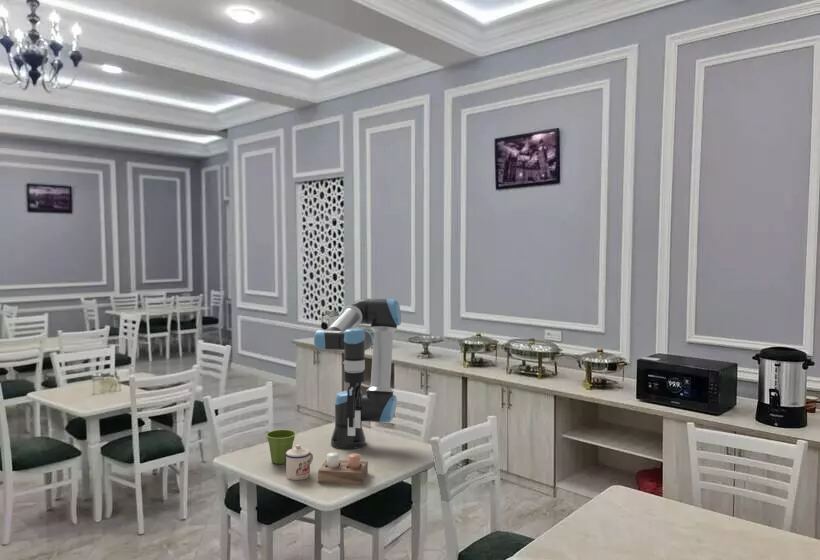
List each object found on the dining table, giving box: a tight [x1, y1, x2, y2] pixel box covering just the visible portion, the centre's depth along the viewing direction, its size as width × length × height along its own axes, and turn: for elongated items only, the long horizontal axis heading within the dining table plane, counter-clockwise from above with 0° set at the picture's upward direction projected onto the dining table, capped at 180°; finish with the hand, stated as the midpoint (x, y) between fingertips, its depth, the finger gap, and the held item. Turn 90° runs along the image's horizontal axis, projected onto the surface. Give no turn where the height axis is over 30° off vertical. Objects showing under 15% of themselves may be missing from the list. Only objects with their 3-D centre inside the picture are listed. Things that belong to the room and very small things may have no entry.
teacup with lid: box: [285, 444, 314, 481], centre depth 216 cm, size 12×9×12 cm
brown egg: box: [347, 453, 361, 469], centre depth 212 cm, size 4×4×6 cm
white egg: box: [326, 452, 340, 468], centre depth 213 cm, size 4×4×6 cm
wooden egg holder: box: [317, 458, 369, 486], centre depth 213 cm, size 12×16×4 cm
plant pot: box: [265, 429, 297, 465], centre depth 230 cm, size 12×12×11 cm
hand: (354, 431), depth 212 cm, fingers open, 9 cm apart
